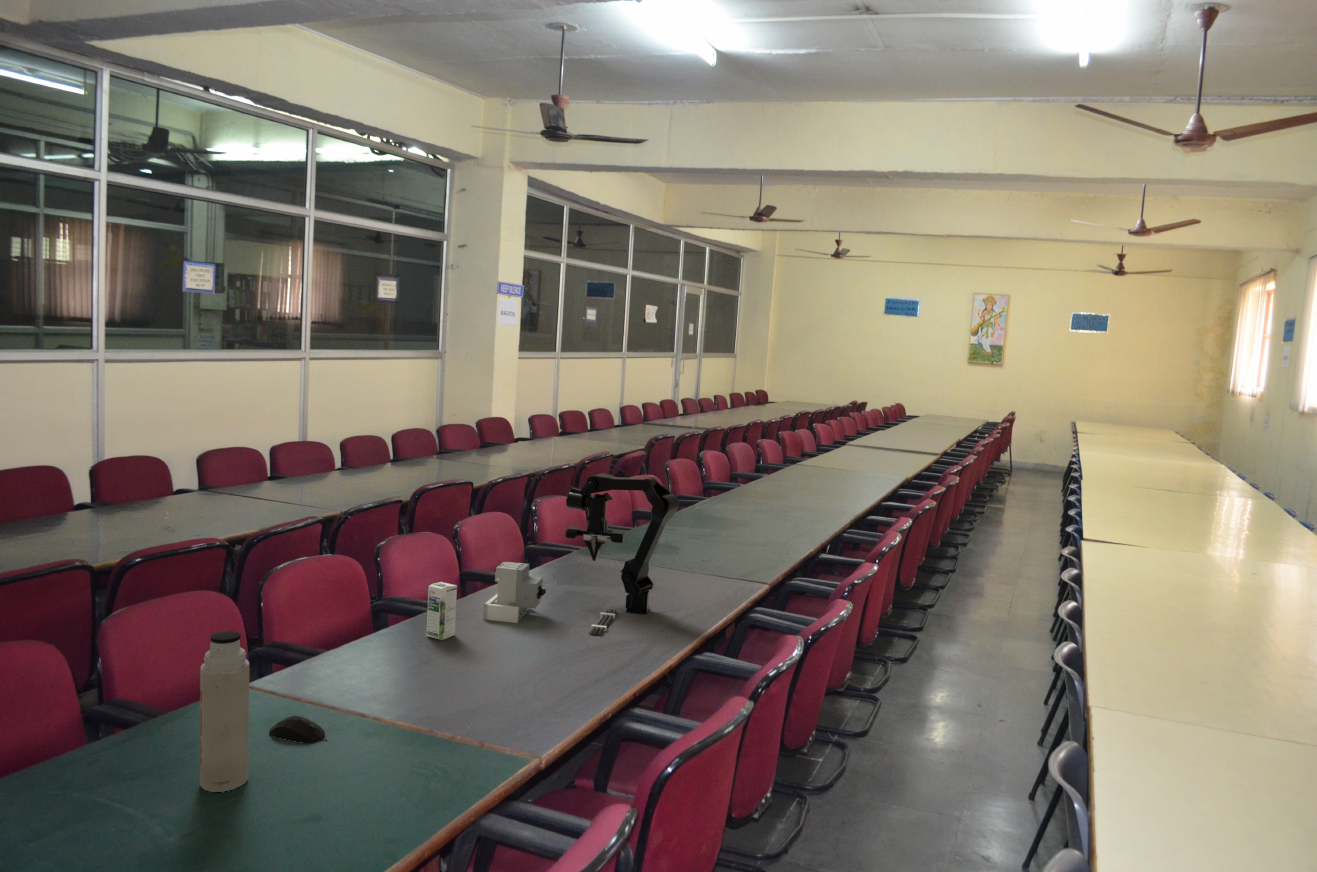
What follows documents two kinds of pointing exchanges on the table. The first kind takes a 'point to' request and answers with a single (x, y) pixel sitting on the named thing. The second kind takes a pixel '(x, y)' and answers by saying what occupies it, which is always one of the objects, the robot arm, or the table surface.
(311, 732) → the gaming mouse
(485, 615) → the mounting bay
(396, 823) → the table surface
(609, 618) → the dressed cords
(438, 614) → the syrup box
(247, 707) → the thermos bottle
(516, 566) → the circuit breaker
